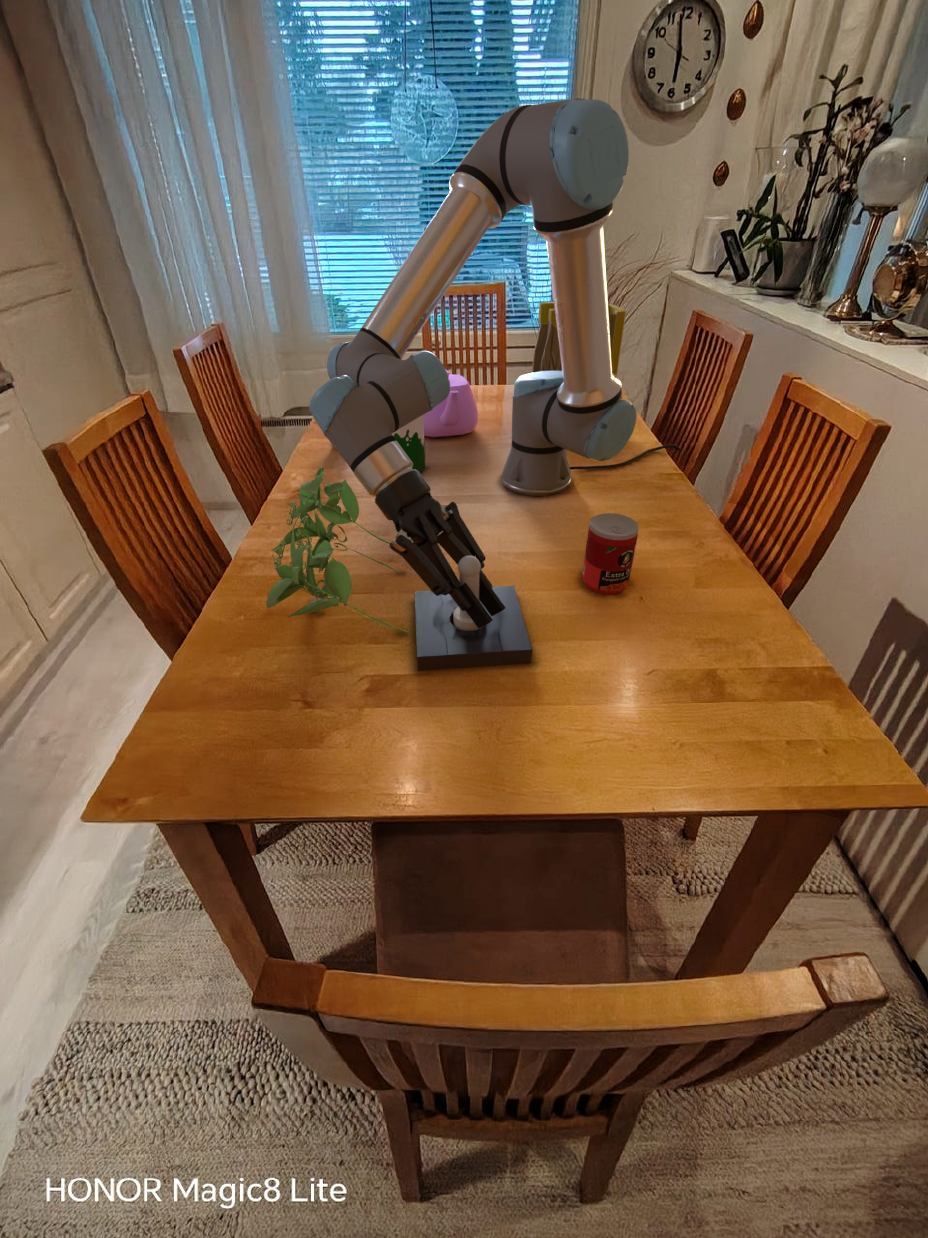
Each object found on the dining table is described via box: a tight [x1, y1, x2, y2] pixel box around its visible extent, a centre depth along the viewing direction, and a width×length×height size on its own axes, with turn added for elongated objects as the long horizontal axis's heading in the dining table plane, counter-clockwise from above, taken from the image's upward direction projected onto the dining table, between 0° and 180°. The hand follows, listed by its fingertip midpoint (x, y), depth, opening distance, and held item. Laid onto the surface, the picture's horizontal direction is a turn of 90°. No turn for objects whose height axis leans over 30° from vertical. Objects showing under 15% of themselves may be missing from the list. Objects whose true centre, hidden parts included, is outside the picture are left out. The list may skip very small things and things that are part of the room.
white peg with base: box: [453, 556, 486, 631], centre depth 85 cm, size 5×5×13 cm
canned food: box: [581, 512, 640, 595], centre depth 96 cm, size 8×8×11 cm
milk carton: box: [392, 415, 426, 473], centre depth 131 cm, size 9×9×20 cm
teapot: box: [423, 369, 479, 438], centre depth 151 cm, size 23×21×15 cm
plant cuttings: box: [265, 466, 410, 634], centre depth 90 cm, size 35×17×22 cm
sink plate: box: [413, 585, 533, 671], centre depth 88 cm, size 16×16×2 cm
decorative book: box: [531, 301, 627, 376], centre depth 149 cm, size 20×11×30 cm, turn 98°
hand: (492, 617), depth 85 cm, fingers closed on white peg with base, 3 cm apart
